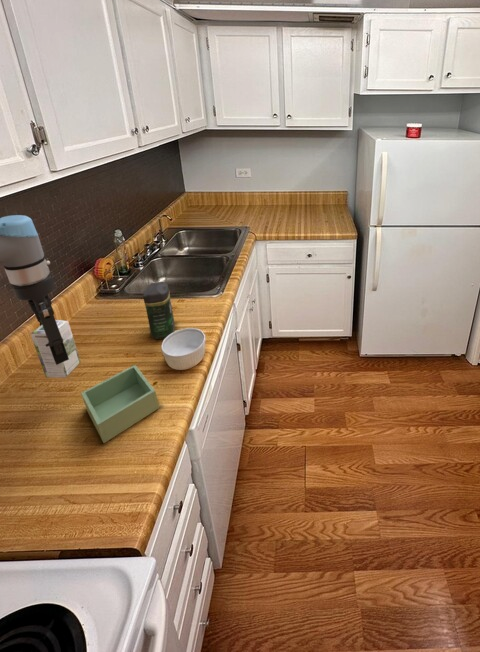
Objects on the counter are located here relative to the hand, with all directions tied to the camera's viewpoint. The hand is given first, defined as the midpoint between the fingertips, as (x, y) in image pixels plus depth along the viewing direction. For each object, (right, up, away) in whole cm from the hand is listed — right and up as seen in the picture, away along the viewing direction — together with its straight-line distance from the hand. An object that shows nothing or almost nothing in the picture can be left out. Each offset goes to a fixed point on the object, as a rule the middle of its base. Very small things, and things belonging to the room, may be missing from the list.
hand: (58, 353), depth 88 cm
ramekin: (+27, -9, +20) cm, 34 cm away
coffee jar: (+14, -4, +32) cm, 35 cm away
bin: (+16, -16, +2) cm, 23 cm away
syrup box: (0, -6, +2) cm, 6 cm away
